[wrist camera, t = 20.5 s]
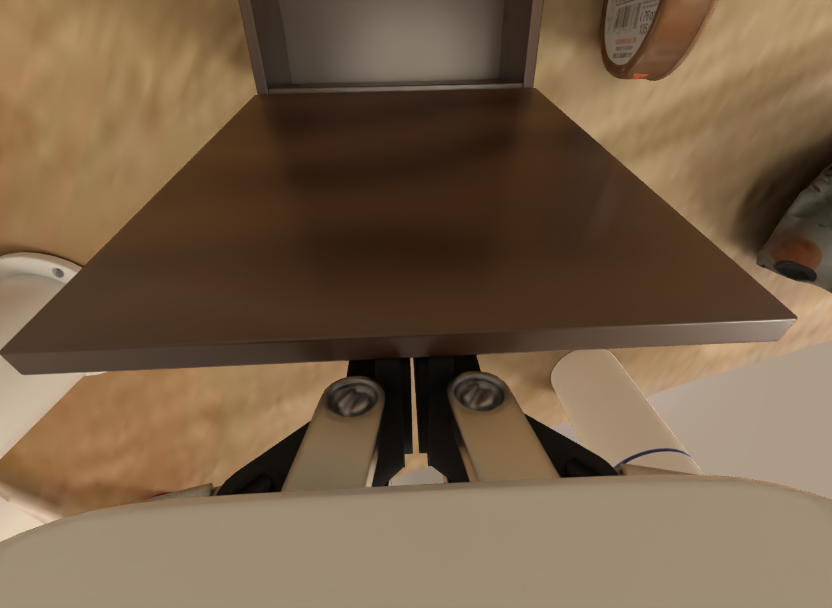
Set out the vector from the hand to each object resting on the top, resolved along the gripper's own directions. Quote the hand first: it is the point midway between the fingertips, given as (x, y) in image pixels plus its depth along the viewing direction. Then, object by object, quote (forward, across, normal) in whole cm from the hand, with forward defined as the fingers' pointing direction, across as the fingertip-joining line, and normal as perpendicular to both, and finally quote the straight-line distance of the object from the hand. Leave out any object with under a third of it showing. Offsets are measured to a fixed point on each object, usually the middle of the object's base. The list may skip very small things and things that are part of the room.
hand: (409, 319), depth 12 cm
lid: (+5, 0, -4) cm, 6 cm away
